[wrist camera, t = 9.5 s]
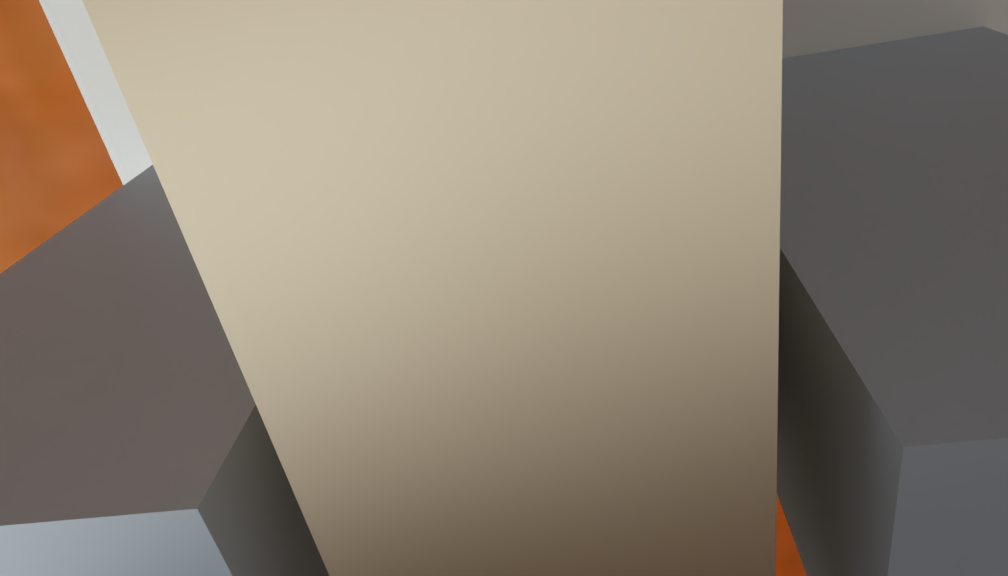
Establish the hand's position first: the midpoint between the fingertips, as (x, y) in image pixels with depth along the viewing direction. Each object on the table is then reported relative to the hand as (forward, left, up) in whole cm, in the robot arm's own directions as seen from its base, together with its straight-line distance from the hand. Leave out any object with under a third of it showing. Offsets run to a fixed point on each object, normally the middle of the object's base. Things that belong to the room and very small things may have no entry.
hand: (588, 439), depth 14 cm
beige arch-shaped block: (-4, 0, -2) cm, 5 cm away
